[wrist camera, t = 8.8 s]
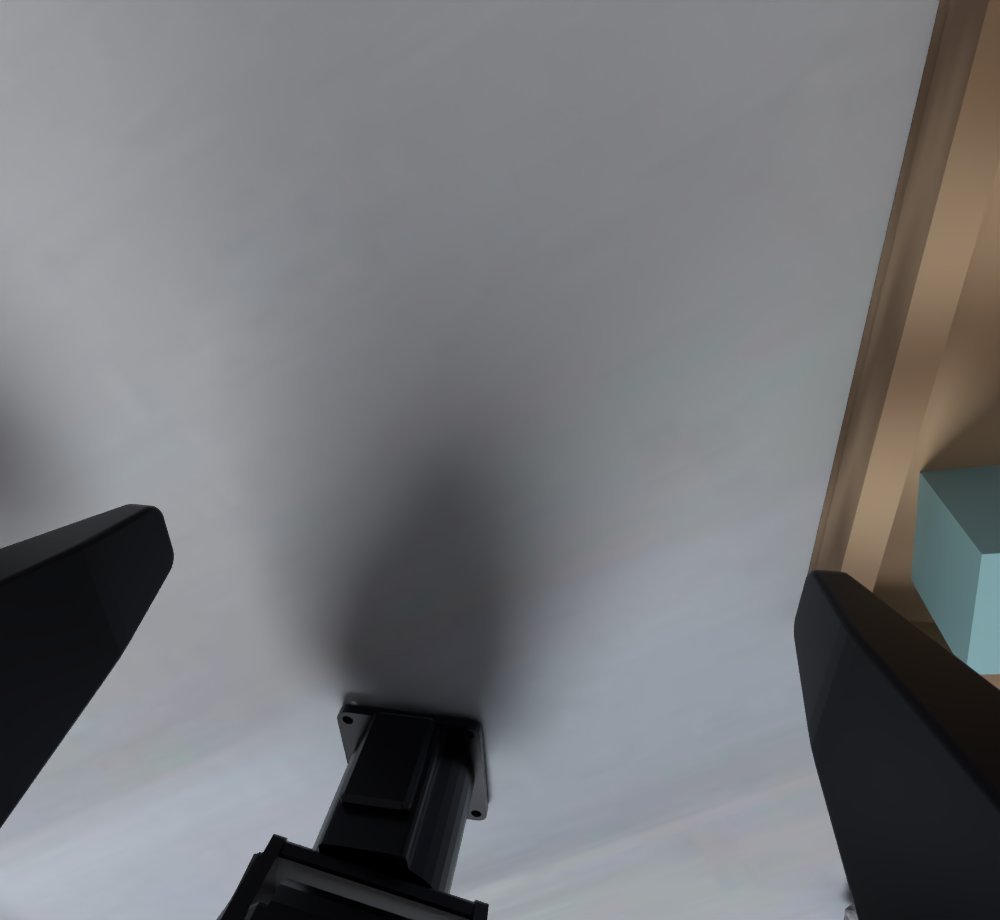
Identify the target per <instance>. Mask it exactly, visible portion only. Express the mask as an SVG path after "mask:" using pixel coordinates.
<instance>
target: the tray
mask: <svg viewBox="0 0 1000 920" xmlns="http://www.w3.org/2000/svg"><path fill="white" fill-rule="evenodd" d="M991 465H1000V0H940V3H939V8H938V12H937V16H936V21H935V25H934V29H933V34H932V38H931V42H930V47H929V51H928V55H927V60H926V64H925V68H924V73H923V77H922V81H921V86H920V90H919V95H918V99H917V103H916V108H915V112H914V116H913V121H912V125H911V129H910V134H909V138H908V142H907V147H906V151H905V155H904V160H903V164H902V168H901V173H900V177H899V181H898V186H897V190H896V194H895V199H894V203H893V207H892V212H891V216H890V220H889V225H888V229H887V233H886V238H885V242H884V246H883V251H882V255H881V259H880V264H879V268H878V272H877V277H876V281H875V285H874V290H873V294H872V298H871V303H870V307H869V311H868V316H867V320H866V324H865V329H864V333H863V338H862V342H861V346H860V351H859V355H858V359H857V364H856V368H855V372H854V377H853V381H852V385H851V390H850V394H849V398H848V403H847V407H846V411H845V416H844V420H843V424H842V429H841V433H840V437H839V442H838V446H837V450H836V455H835V459H834V463H833V468H832V472H831V476H830V481H829V485H828V489H827V494H826V498H825V502H824V507H823V511H822V515H821V520H820V524H819V528H818V533H817V537H816V541H815V546H814V550H813V554H812V559H811V563H810V567H809V572H810V571H812V570H814V569H819V570H829V571H841V572H845V573H847V574H849V575H850V576H852V577H853V578H854V579H855V580H857V581H858V582H859V583H861V584H862V585H863V586H865V587H866V588H867V589H869V590H870V591H871V592H873V593H874V594H875V595H876V596H878V597H879V598H880V599H882V600H883V601H884V602H886V603H887V604H888V605H890V606H891V607H892V608H893V609H895V610H896V611H897V612H899V613H900V614H901V615H903V616H904V617H905V618H907V619H908V620H909V621H910V622H912V623H913V624H914V625H916V626H917V627H918V628H920V629H921V630H922V631H924V632H925V633H926V634H927V635H929V636H930V637H931V638H933V639H934V640H935V641H937V642H938V643H939V644H941V645H942V646H943V647H945V648H946V649H947V650H948V651H950V652H951V653H952V651H951V649H950V647H949V646H948V644H947V642H946V640H945V639H944V637H943V635H942V633H941V632H940V630H939V628H938V626H937V625H936V623H935V621H934V619H933V618H932V616H931V614H930V612H929V611H928V609H927V607H926V605H925V604H924V602H923V600H922V598H921V597H920V595H919V593H918V591H917V590H916V588H915V586H914V584H913V583H912V581H911V573H912V561H913V549H914V536H915V524H916V512H917V500H918V487H919V475H920V472H925V471H936V470H947V469H958V468H969V467H980V466H991ZM809 572H808V574H809ZM952 654H953V653H952ZM981 676H982V677H984V678H985V679H986V680H988V681H989V682H990V683H992V684H993V685H994V686H996V687H997V688H998V689H999V690H1000V674H985V675H981Z"/></svg>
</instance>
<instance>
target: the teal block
mask: <svg viewBox="0 0 1000 920" xmlns="http://www.w3.org/2000/svg"><path fill="white" fill-rule="evenodd" d="M911 581H912V583H913V584H914V586H915V588H916V590H917V591H918V593H919V595H920V597H921V598H922V600H923V602H924V604H925V605H926V607H927V609H928V611H929V612H930V614H931V616H932V618H933V619H934V621H935V623H936V625H937V626H938V628H939V630H940V632H941V633H942V635H943V637H944V639H945V640H946V642H947V644H948V646H949V647H950V649H951V651H952V653H953V654H954V655H955V656H956V657H958V658H959V659H960V660H962V661H963V662H964V663H965V664H967V665H968V666H969V667H971V668H972V669H973V670H975V671H976V672H977V673H979V674H980V675H985V674H1000V465H991V466H980V467H969V468H958V469H947V470H936V471H925V472H920V475H919V487H918V500H917V512H916V524H915V536H914V549H913V561H912V573H911Z"/></svg>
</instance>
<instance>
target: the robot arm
mask: <svg viewBox="0 0 1000 920" xmlns="http://www.w3.org/2000/svg"><path fill="white" fill-rule="evenodd" d="M173 560H174V552H173V548H172V545H171V541H170V538H169V534H168V531H167V527H166V524H165V520H164V517H163V514H162V512H161V511H160V510H159V509H158V508H156V507H155V506H148V505H138V504H128V505H124V506H121V507H118V508H115V509H113V510H110V511H107V512H104V513H101V514H98V515H95V516H93V517H90V518H87V519H84V520H81V521H78V522H76V523H73V524H70V525H67V526H64V527H61V528H58V529H56V530H53V531H50V532H47V533H44V534H41V535H39V536H36V537H33V538H30V539H27V540H24V541H21V542H19V543H16V544H13V545H10V546H7V547H4V548H1V549H0V828H1V827H2V825H3V824H4V822H5V821H6V820H7V818H8V817H9V815H10V814H11V812H12V811H13V810H14V808H15V807H16V805H17V804H18V803H19V801H20V800H21V798H22V797H23V795H24V794H25V793H26V791H27V790H28V788H29V787H30V786H31V784H32V783H33V781H34V780H35V778H36V777H37V776H38V774H39V773H40V771H41V770H42V768H43V767H44V766H45V764H46V763H47V761H48V760H49V759H50V757H51V756H52V754H53V753H54V751H55V750H56V749H57V747H58V746H59V744H60V743H61V741H62V740H63V739H64V737H65V736H66V734H67V733H68V732H69V730H70V729H71V727H72V726H73V724H74V723H75V722H76V720H77V719H78V717H79V716H80V715H81V713H82V712H83V710H84V709H85V707H86V706H87V705H88V703H89V702H90V700H91V699H92V697H93V696H94V695H95V693H96V692H97V690H98V689H99V688H100V686H101V685H102V683H103V682H104V680H105V679H106V678H107V676H108V675H109V673H110V672H111V670H112V669H113V668H114V666H115V665H116V663H117V662H118V660H119V659H120V657H121V655H122V654H123V652H124V651H125V649H126V647H127V646H128V644H129V642H130V640H131V639H132V637H133V635H134V633H135V632H136V630H137V628H138V626H139V625H140V623H141V621H142V619H143V618H144V616H145V614H146V612H147V611H148V609H149V607H150V605H151V604H152V602H153V600H154V598H155V597H156V595H157V593H158V591H159V589H160V588H161V586H162V584H163V582H164V581H165V579H166V577H167V575H168V574H169V572H170V570H171V568H172V565H173ZM794 640H795V646H796V653H797V660H798V666H799V673H800V680H801V686H802V693H803V700H804V706H805V713H806V720H807V726H808V732H809V738H810V744H811V749H812V753H813V757H814V761H815V765H816V769H817V773H818V776H819V780H820V784H821V787H822V791H823V794H824V798H825V802H826V805H827V809H828V812H829V816H830V820H831V823H832V827H833V831H834V834H835V838H836V841H837V845H838V849H839V852H840V856H841V860H842V863H843V867H844V870H845V874H846V878H847V881H848V885H849V888H850V892H851V896H852V899H853V903H854V907H855V910H856V914H857V917H858V920H1000V690H999V689H998V688H997V687H996V686H994V685H993V684H992V683H990V682H989V681H988V680H986V679H985V678H984V677H982V676H981V675H980V674H979V673H977V672H976V671H975V670H973V669H972V668H971V667H969V666H968V665H967V664H965V663H964V662H963V661H962V660H960V659H959V658H958V657H956V656H955V655H954V654H952V653H951V652H950V651H948V650H947V649H946V648H945V647H943V646H942V645H941V644H939V643H938V642H937V641H935V640H934V639H933V638H931V637H930V636H929V635H927V634H926V633H925V632H924V631H922V630H921V629H920V628H918V627H917V626H916V625H914V624H913V623H912V622H910V621H909V620H908V619H907V618H905V617H904V616H903V615H901V614H900V613H899V612H897V611H896V610H895V609H893V608H892V607H891V606H890V605H888V604H887V603H886V602H884V601H883V600H882V599H880V598H879V597H878V596H876V595H875V594H874V593H873V592H871V591H870V590H869V589H867V588H866V587H865V586H863V585H862V584H861V583H859V582H858V581H857V580H855V579H854V578H853V577H852V576H850V575H849V574H847V573H845V572H841V571H829V570H819V569H814V570H812V571H810V572H809V574H808V575H807V577H806V580H805V584H804V587H803V591H802V595H801V598H800V602H799V606H798V609H797V613H796V617H795V622H794ZM337 720H338V724H339V729H340V733H341V737H342V742H343V746H344V750H345V754H346V759H347V763H348V765H347V768H346V770H345V773H344V775H343V777H342V780H341V782H340V784H339V787H338V789H337V792H336V794H335V796H334V799H333V801H332V804H331V806H330V808H329V811H328V813H327V815H326V818H325V820H324V823H323V825H322V827H321V830H320V832H319V834H318V837H317V839H316V842H315V844H314V846H313V849H310V848H307V847H304V846H301V845H298V844H295V843H292V842H289V841H287V838H285V837H282V836H279V835H276V834H274V835H273V836H272V838H271V840H270V842H269V843H268V845H267V847H266V849H265V850H264V852H262V853H261V852H259V853H257V854H254V855H253V857H252V859H251V861H250V863H249V865H248V867H247V869H246V871H245V873H244V875H243V877H242V879H241V881H240V883H239V885H238V887H237V889H236V891H235V893H234V895H233V896H232V898H231V900H230V901H229V903H228V904H227V906H226V907H225V909H224V910H223V911H222V913H221V914H220V916H219V917H218V918H217V920H487V915H488V906H489V904H487V903H484V902H481V901H478V900H475V901H474V902H472V901H469V900H466V899H463V898H460V897H457V896H454V895H451V894H450V889H451V885H452V880H453V876H454V872H455V867H456V863H457V858H458V854H459V849H460V845H461V841H462V836H463V832H464V827H465V823H466V819H472V820H483V819H485V818H486V816H487V811H488V799H487V786H486V774H485V761H484V749H483V736H482V727H481V725H480V724H479V723H478V722H477V721H475V720H472V719H465V718H456V717H447V716H439V715H430V714H421V713H413V712H404V711H396V710H387V709H378V708H370V707H361V706H352V705H345V706H343V707H342V708H341V709H340V712H339V714H338V716H337Z"/></svg>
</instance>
